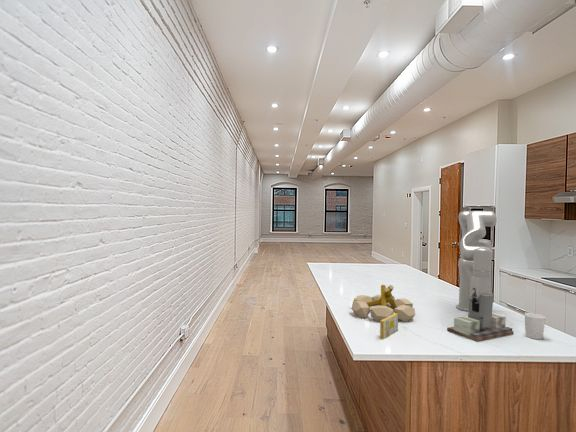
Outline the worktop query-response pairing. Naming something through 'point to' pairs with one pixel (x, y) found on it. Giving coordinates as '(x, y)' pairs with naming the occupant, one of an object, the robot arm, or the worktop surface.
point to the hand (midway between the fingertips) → (480, 310)
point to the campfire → (383, 306)
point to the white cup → (534, 325)
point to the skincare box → (482, 310)
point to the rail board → (474, 332)
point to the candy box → (388, 326)
